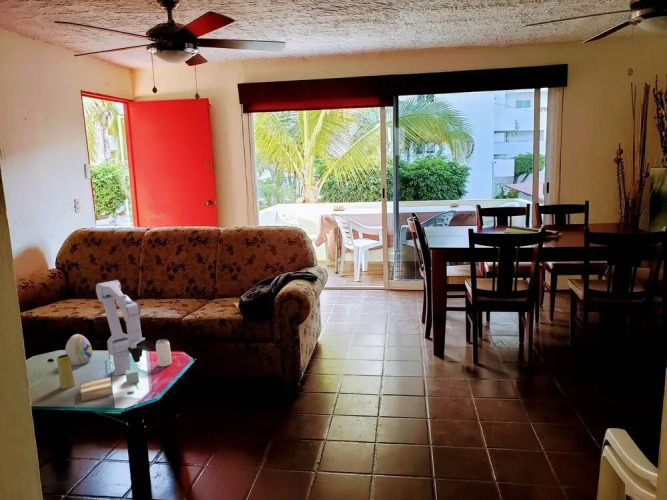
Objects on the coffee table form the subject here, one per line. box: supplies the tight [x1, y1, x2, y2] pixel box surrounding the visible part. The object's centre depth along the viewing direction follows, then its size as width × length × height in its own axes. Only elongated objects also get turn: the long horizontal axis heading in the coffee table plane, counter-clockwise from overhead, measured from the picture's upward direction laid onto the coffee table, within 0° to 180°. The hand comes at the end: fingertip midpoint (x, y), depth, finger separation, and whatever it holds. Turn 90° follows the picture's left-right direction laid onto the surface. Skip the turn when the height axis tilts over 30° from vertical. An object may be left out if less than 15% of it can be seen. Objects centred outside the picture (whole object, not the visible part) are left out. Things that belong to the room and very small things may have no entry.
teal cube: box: [125, 367, 140, 385], centre depth 237 cm, size 5×5×5 cm
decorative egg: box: [64, 333, 93, 366], centre depth 267 cm, size 12×12×15 cm
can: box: [155, 338, 173, 368], centre depth 256 cm, size 6×6×12 cm
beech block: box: [80, 376, 114, 402], centre depth 228 cm, size 12×12×4 cm
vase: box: [56, 354, 76, 390], centre depth 236 cm, size 6×6×14 cm
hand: (138, 359), depth 235 cm, fingers open, 7 cm apart
